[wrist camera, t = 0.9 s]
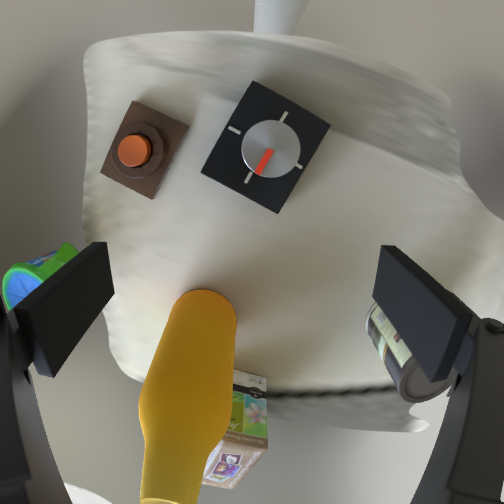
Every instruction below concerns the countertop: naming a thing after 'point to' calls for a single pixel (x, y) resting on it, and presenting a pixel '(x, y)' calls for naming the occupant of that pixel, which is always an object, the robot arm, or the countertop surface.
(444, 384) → the coffee can
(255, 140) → the dial
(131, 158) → the button
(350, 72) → the countertop surface
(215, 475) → the tea box
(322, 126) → the control panel
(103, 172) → the button block
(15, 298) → the snack cup
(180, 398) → the beer bottle
